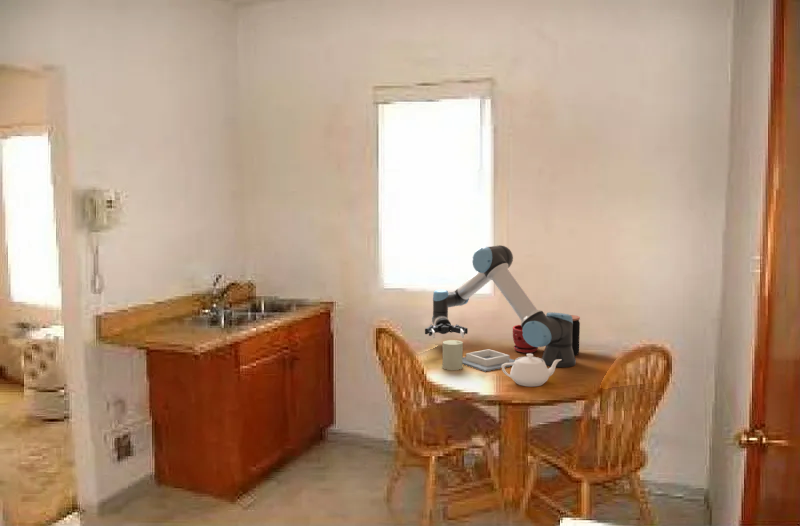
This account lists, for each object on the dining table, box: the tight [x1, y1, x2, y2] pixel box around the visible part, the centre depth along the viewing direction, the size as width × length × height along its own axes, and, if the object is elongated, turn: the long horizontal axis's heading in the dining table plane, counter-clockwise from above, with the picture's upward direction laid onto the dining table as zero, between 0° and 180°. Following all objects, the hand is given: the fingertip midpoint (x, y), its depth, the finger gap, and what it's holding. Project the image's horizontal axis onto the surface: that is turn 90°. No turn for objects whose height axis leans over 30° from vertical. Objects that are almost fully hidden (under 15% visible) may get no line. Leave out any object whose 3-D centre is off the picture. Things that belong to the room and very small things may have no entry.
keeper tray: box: [463, 348, 516, 373], centre depth 301 cm, size 22×22×4 cm
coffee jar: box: [570, 314, 581, 356], centre depth 316 cm, size 11×11×18 cm
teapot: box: [501, 353, 562, 387], centre depth 269 cm, size 25×16×12 cm, turn 93°
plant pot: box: [512, 324, 539, 354], centre depth 322 cm, size 13×13×12 cm
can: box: [441, 339, 464, 371], centre depth 293 cm, size 9×9×12 cm
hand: (448, 334), depth 303 cm, fingers open, 13 cm apart
